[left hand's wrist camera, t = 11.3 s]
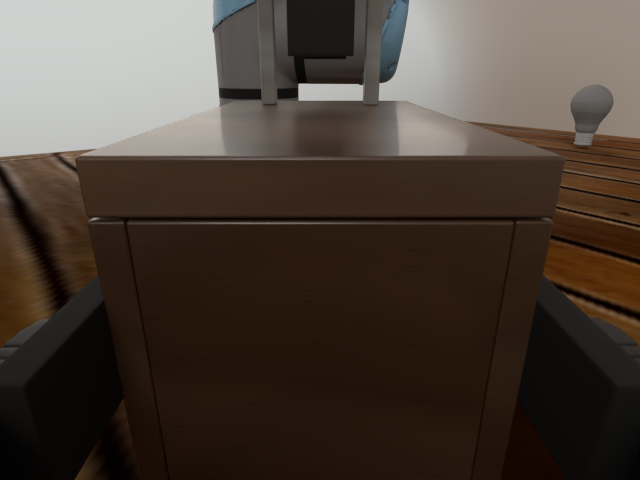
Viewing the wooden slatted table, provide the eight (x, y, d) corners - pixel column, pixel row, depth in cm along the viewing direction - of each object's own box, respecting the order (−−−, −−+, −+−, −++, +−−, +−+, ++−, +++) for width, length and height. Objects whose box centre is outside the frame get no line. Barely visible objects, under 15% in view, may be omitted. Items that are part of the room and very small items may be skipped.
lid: (235, 124, 25) (222, -67, 22) (404, 124, 25) (418, -67, 22) (85, 219, 9) (-53, -455, 6) (555, 219, 9) (694, -455, 6)
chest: (244, 279, 28) (233, 126, 24) (396, 279, 28) (406, 126, 24) (150, 536, 12) (85, 221, 9) (489, 536, 12) (554, 221, 9)
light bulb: (570, 149, 72) (583, 85, 69) (557, 143, 78) (568, 84, 74) (609, 150, 71) (624, 85, 68) (592, 144, 77) (606, 84, 73)
